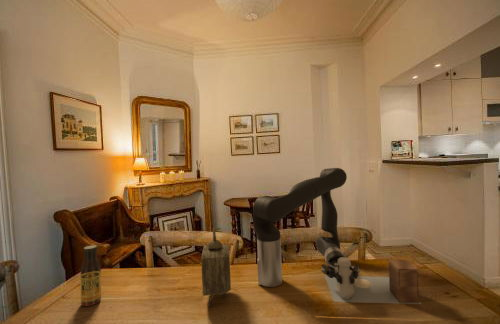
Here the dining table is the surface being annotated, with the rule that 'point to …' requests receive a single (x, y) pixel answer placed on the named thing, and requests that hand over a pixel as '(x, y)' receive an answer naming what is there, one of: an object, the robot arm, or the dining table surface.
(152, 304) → the dining table surface
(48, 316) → the dining table surface
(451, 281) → the dining table surface
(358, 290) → the board
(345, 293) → the salt shaker
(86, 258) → the sauce bottle
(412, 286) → the block
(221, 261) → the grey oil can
